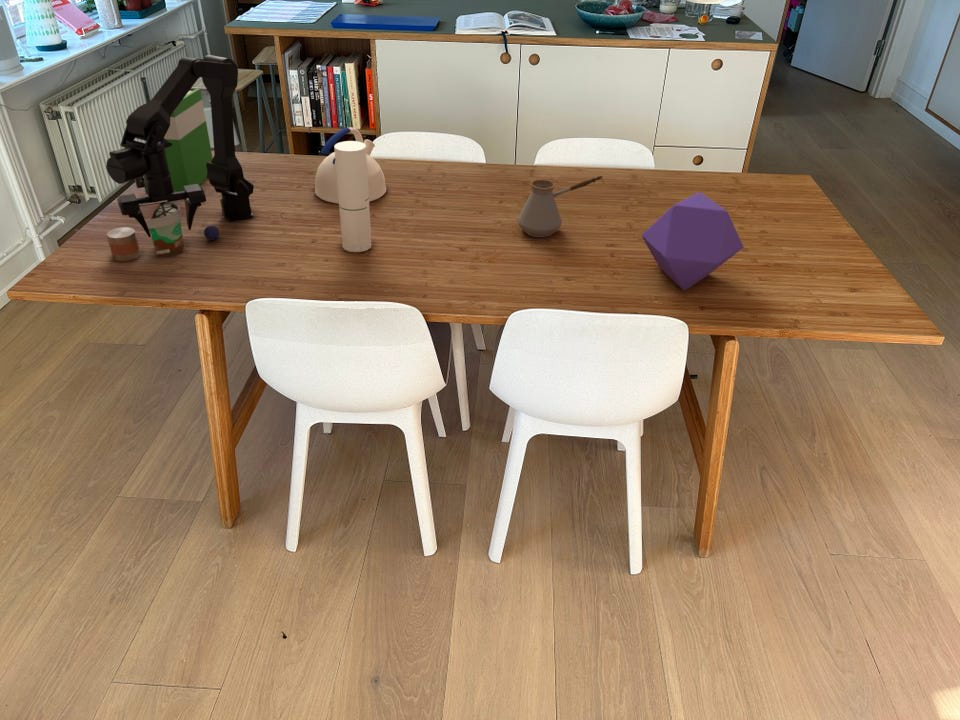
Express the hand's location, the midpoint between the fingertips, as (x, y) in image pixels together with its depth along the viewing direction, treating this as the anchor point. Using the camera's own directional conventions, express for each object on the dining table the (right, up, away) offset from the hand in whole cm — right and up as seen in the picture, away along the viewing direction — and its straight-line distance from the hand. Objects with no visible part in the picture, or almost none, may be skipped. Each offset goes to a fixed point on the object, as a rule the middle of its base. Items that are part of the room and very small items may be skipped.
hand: (169, 232), depth 178 cm
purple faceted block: (+123, -11, -3) cm, 123 cm away
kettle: (+38, +18, +35) cm, 54 cm away
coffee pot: (+95, +3, +16) cm, 96 cm away
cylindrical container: (+44, -2, +6) cm, 44 cm away
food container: (+1, -4, +2) cm, 4 cm away
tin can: (-9, -6, -2) cm, 11 cm away
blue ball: (+8, -1, +6) cm, 10 cm away
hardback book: (-10, +21, +38) cm, 45 cm away
